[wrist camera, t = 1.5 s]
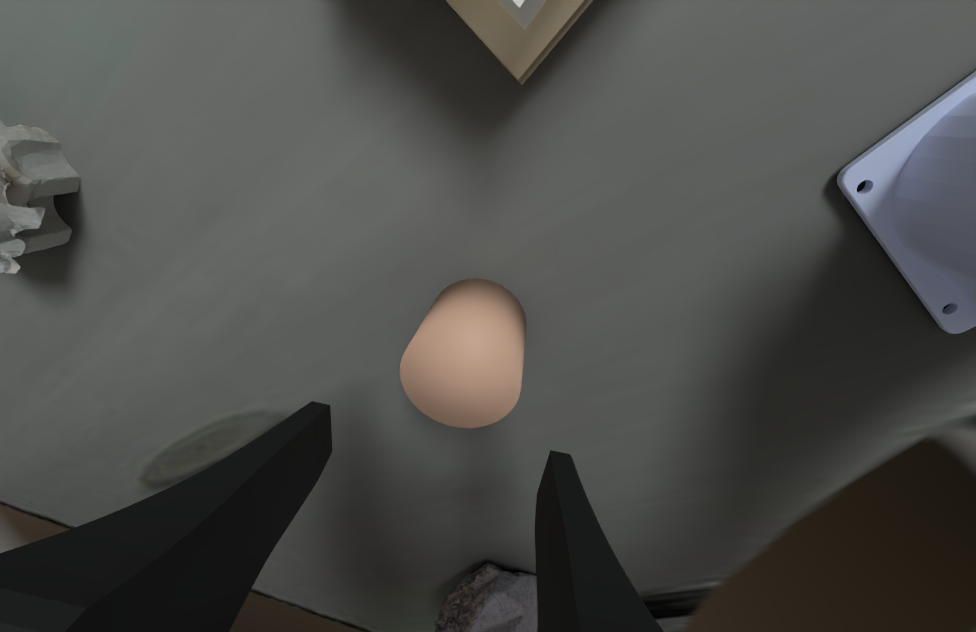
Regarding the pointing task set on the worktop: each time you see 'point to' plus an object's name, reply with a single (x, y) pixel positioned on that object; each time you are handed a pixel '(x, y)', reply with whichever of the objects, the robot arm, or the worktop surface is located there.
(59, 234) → the grey carved stone fragment
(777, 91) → the worktop surface
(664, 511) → the worktop surface
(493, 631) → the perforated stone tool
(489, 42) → the tower base
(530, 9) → the tower top
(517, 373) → the cylinder
